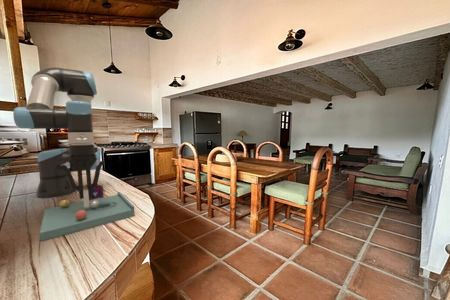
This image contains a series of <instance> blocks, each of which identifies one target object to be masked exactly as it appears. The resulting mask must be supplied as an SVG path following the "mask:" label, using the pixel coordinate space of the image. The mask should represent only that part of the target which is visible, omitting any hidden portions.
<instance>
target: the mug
mask: <svg viewBox="0 0 450 300" xmlns="http://www.w3.org/2000/svg"><path fill="white" fill-rule="evenodd" d="M86 188H87V186H86V187H84V189H86ZM104 197H105V195H104V186H103V185H101V184H97V186H96V187H93V188H92V197H89V200H93V199H98V198H104Z"/></svg>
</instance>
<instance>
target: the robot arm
mask: <svg viewBox="0 0 450 300" xmlns="http://www.w3.org/2000/svg"><path fill="white" fill-rule="evenodd" d="M30 83H31V86H32V87H31V91H30V94H29V96H28V100H27V103H26V106H21V107H19V106H17V107H15V108H14V109H13V111H12V112H13V113H12V114H13V120H14V121H13V122H14V124H15V125H16V126H17V128H19V129H31V130H34V129H35V130H38V129H39V130H40V129H43V130H45V129H52V130H53V129H57V130H58V129H59V130H60V129H61V130H63V129H65V130H66V129H67V138H68V140H67V141H68V144H70V145H69V146H68V149H67V148H57V149H55V148H54V149H50V150H45V151H41V152H39V153H38V154H37V164H38V172H39V173H38V174H39V184H38V186H37V189H36V197H37V198H41V199H42V198H45V199H46V198H53V197H59V196H64V195H68V194H71V193H73V192H75V191H78V196H79V199H80V200H82V201H84V207H89V197H92V188H93V187H96V186H97V185H98V183H99V177H100V174H101V170H102V169H101V168H102V166H103V165H104V164H105V163H104V161H103V160H101V157H102V156H101V155H102V154H101V153H102V151H101V149H100V148H98V145H96V144H95V141H94V140H95V139H94V137H95V136H94V125H93V110H92V100H93V99H95V96H96V95H97V94H98V92H97V87H96V86H97V85H96V81H95V78H94V75H93V73H91V72H88V71H84V70H77V69H70V68H69V69H67V68H60V67H47V68H44V69H40V70H39V71H37V72H35V73H34V74H33V75H32V77H31V80H30ZM57 92H62V93H66V95H67V97H68V98H69V99H70V100H68V101H66V102H65V109H64V108H63V109H62V108H54V105H55V104H54V103H55V98H56V93H57ZM91 171H95V172H94V176H93V181H92V176H91ZM75 172H77V182H78V183H77V184H78V185H77V184H76V181H75V179H74V177H73V174H72V173H75ZM83 172H85V175H86V176H85V177H86V187H87V188H86V187H85V188H86V189H85V188H84V184H83V183H84V180H83Z"/></svg>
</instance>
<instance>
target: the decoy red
mask: <svg viewBox="0 0 450 300" xmlns="http://www.w3.org/2000/svg"><path fill="white" fill-rule="evenodd" d="M86 216H87V212H86V211H85V210H79V211H78V212H77V213H76V214H75V218H76V219H78V220H82V219H84V218H85V217H86Z"/></svg>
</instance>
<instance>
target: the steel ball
mask: <svg viewBox="0 0 450 300" xmlns="http://www.w3.org/2000/svg"><path fill="white" fill-rule="evenodd" d="M89 206H90V208H97V207H98V206H99V202H98V201H97V200H92V201H91V202H90V203H89Z"/></svg>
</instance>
